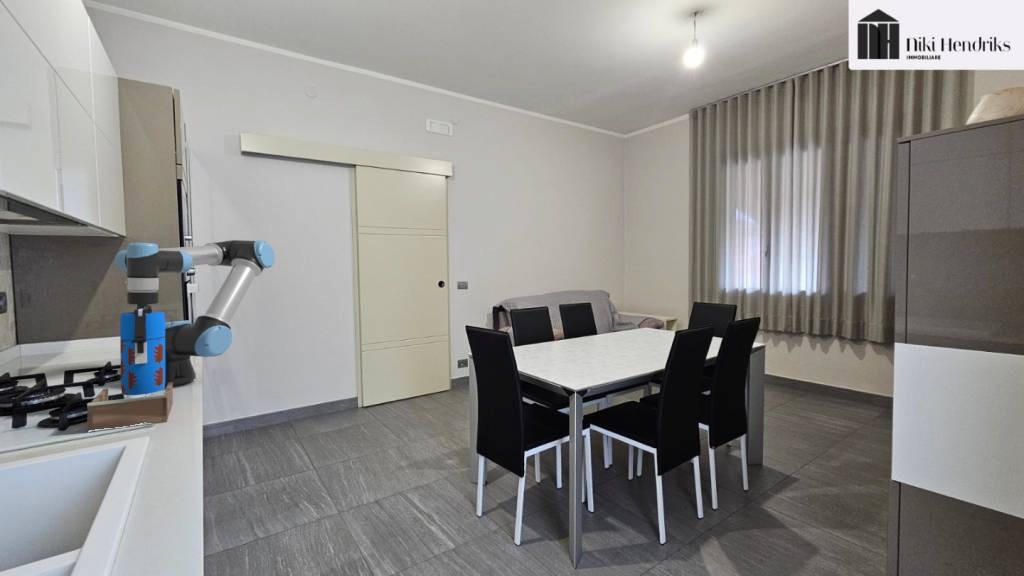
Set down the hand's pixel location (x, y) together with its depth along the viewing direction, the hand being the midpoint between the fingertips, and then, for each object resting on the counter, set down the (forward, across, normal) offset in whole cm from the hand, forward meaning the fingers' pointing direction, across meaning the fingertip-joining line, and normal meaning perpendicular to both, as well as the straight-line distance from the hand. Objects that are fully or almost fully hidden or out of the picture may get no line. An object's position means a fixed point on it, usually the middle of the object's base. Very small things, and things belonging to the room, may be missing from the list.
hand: (143, 359), depth 135 cm
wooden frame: (+14, +16, 0) cm, 21 cm away
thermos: (+10, 0, 0) cm, 10 cm away
